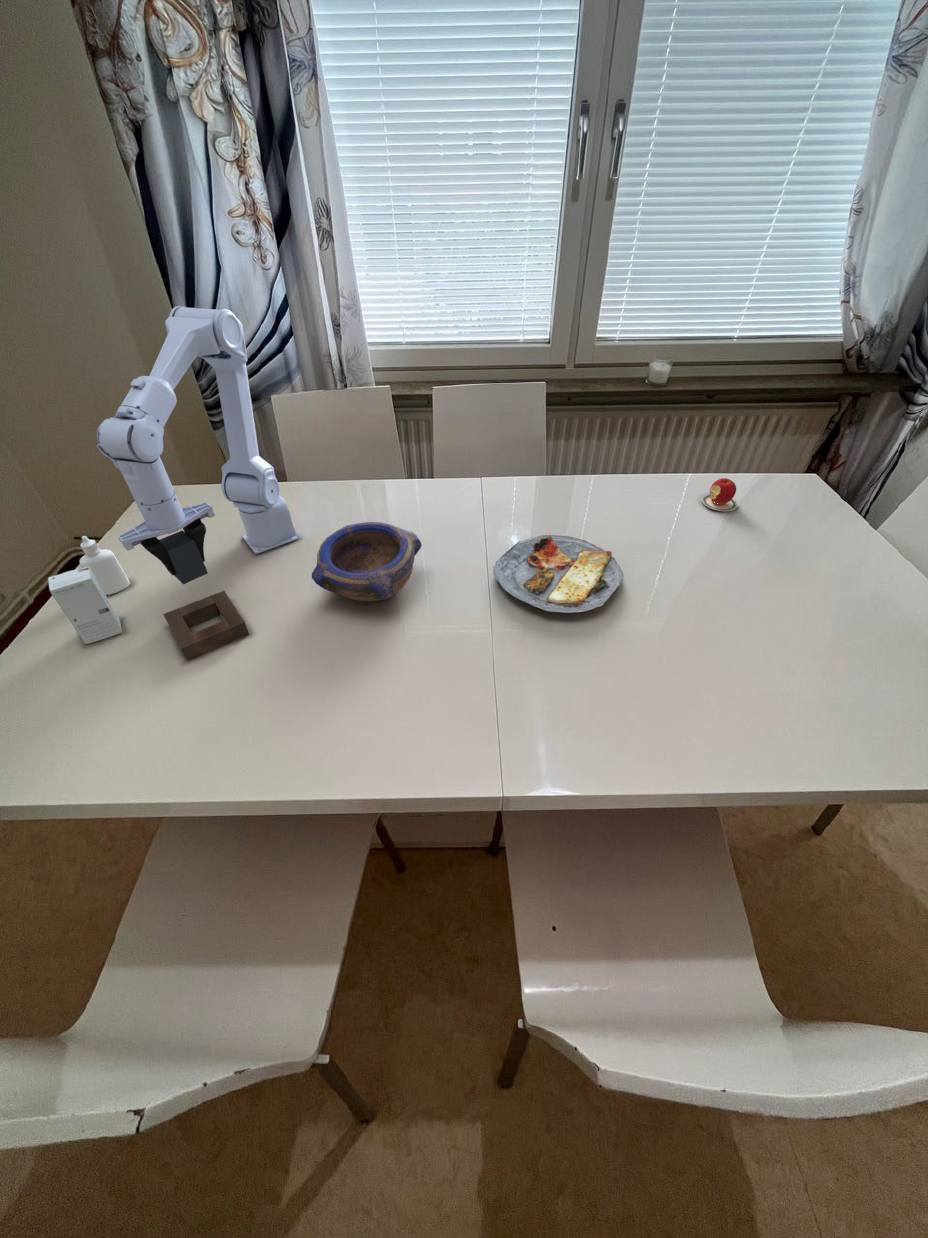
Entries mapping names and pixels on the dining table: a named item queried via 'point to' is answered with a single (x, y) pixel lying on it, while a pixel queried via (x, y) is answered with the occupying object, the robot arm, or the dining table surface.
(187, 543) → the dark grey rectangular block
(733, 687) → the dining table surface
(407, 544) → the bowl
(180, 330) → the robot arm
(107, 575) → the eye dropper bottle
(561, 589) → the food plate
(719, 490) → the apple
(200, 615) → the frame
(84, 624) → the cosmetic box
